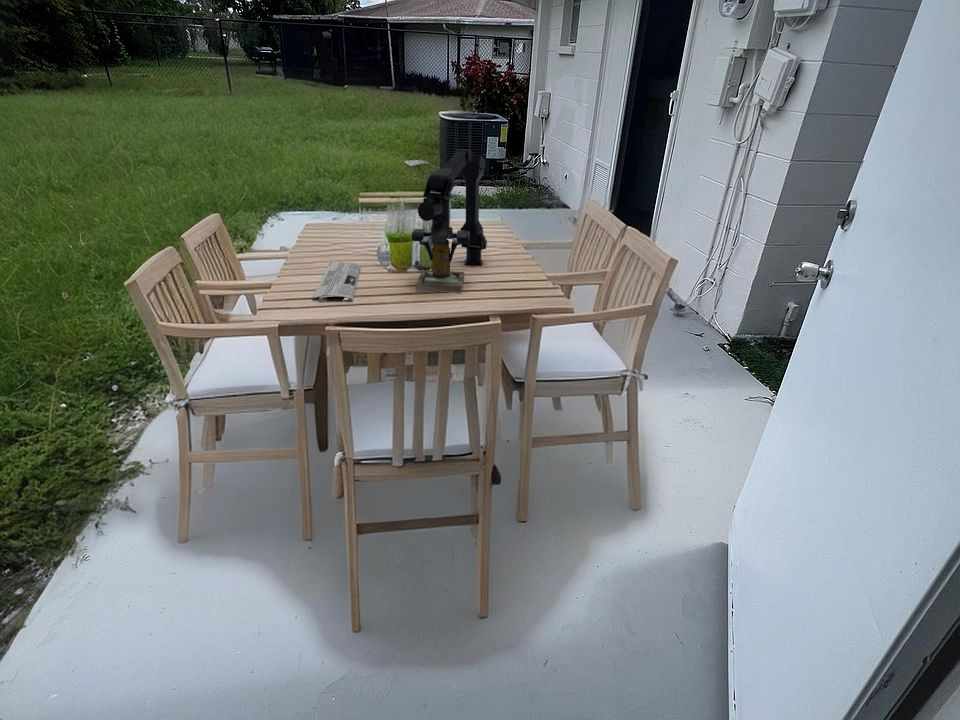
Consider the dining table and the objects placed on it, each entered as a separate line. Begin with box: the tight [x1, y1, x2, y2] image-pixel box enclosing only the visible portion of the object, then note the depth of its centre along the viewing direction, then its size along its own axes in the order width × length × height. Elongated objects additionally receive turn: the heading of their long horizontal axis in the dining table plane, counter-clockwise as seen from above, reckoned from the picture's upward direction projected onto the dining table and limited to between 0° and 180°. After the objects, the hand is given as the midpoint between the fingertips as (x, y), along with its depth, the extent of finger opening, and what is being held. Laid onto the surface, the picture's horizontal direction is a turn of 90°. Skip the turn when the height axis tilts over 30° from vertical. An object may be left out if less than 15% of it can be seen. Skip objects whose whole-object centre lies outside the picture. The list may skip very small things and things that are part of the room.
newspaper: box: [312, 259, 362, 303], centre depth 193 cm, size 35×12×4 cm, turn 6°
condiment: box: [428, 239, 456, 280], centre depth 190 cm, size 7×8×12 cm
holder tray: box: [415, 269, 465, 294], centre depth 194 cm, size 15×15×2 cm
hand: (441, 261), depth 191 cm, fingers closed on condiment, 6 cm apart
